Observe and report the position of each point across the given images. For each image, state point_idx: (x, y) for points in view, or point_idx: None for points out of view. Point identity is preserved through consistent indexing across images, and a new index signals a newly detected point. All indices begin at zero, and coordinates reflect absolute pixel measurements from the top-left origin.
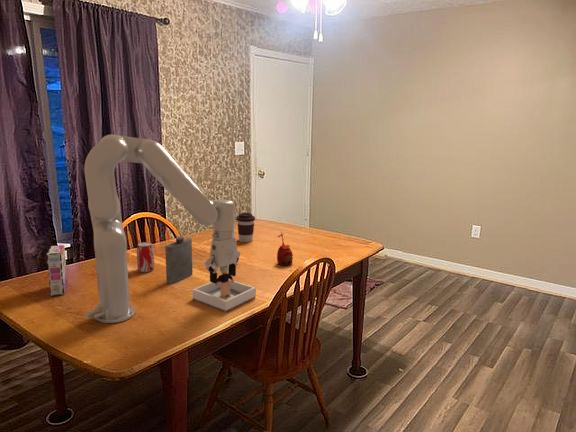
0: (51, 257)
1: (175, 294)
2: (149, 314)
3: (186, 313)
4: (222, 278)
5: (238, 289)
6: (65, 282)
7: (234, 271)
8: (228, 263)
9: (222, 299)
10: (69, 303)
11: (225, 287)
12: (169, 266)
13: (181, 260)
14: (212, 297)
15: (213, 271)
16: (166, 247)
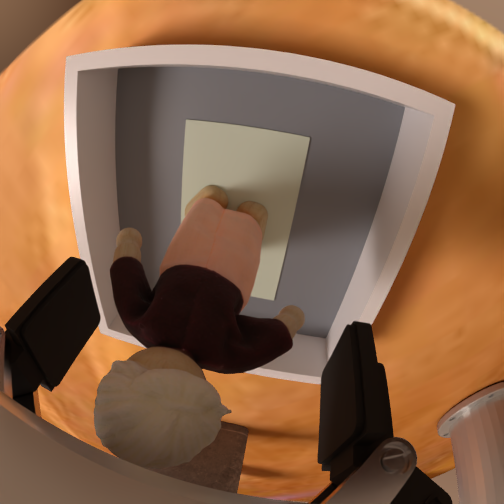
0: None
1: (312, 397)
2: (481, 368)
3: (476, 285)
4: (235, 327)
5: (109, 197)
6: None
7: (53, 293)
8: (108, 497)
9: (432, 151)
10: (423, 462)
11: (228, 244)
12: (234, 483)
13: (178, 478)
14: (405, 247)
15: (414, 466)
16: None
